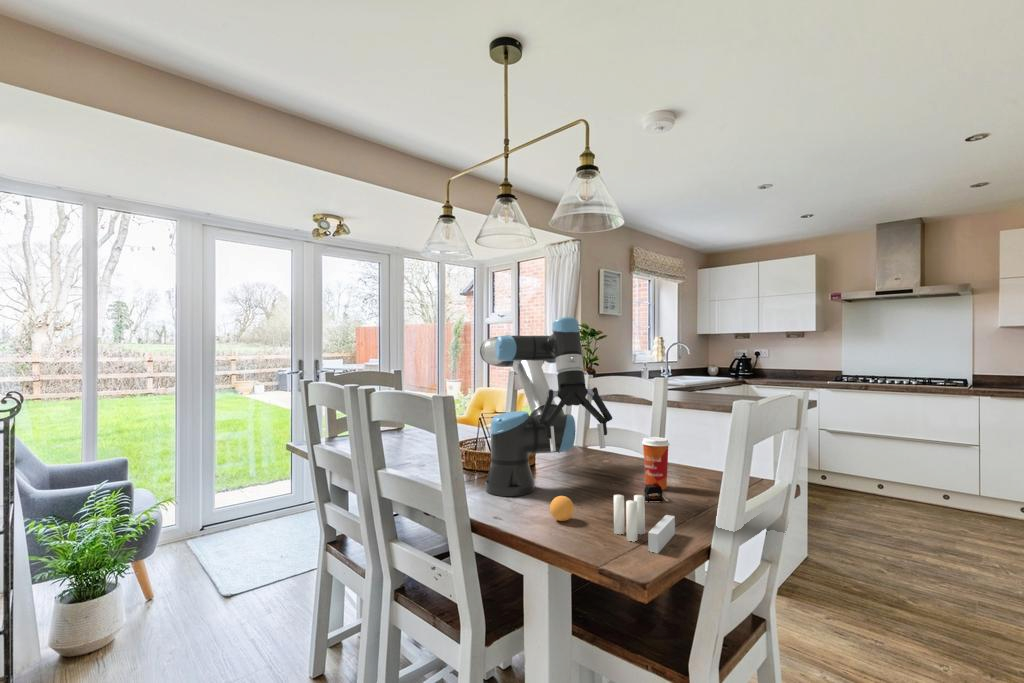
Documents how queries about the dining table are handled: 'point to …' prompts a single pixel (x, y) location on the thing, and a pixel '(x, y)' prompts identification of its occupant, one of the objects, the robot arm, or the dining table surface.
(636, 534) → the pin
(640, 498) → the pin
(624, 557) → the dining table surface
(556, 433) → the robot arm
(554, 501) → the ball
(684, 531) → the dining table surface
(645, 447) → the coffee cup
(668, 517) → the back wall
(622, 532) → the front pin
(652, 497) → the dark piece
